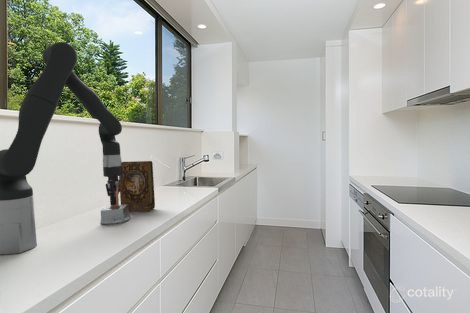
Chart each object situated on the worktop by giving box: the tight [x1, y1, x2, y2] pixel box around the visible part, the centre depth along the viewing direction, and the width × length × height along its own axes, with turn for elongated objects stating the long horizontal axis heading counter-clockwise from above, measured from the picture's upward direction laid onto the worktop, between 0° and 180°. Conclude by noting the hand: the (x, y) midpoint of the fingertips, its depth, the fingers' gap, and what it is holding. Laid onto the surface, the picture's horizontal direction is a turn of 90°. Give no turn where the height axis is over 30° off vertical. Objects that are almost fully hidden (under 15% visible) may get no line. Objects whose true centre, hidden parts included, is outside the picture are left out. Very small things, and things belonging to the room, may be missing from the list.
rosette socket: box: [100, 204, 131, 226], centre depth 115 cm, size 12×12×6 cm
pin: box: [110, 181, 120, 209], centre depth 115 cm, size 4×4×14 cm
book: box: [118, 160, 156, 213], centre depth 131 cm, size 16×6×25 cm, turn 84°
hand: (114, 203), depth 115 cm, fingers closed on pin, 3 cm apart
